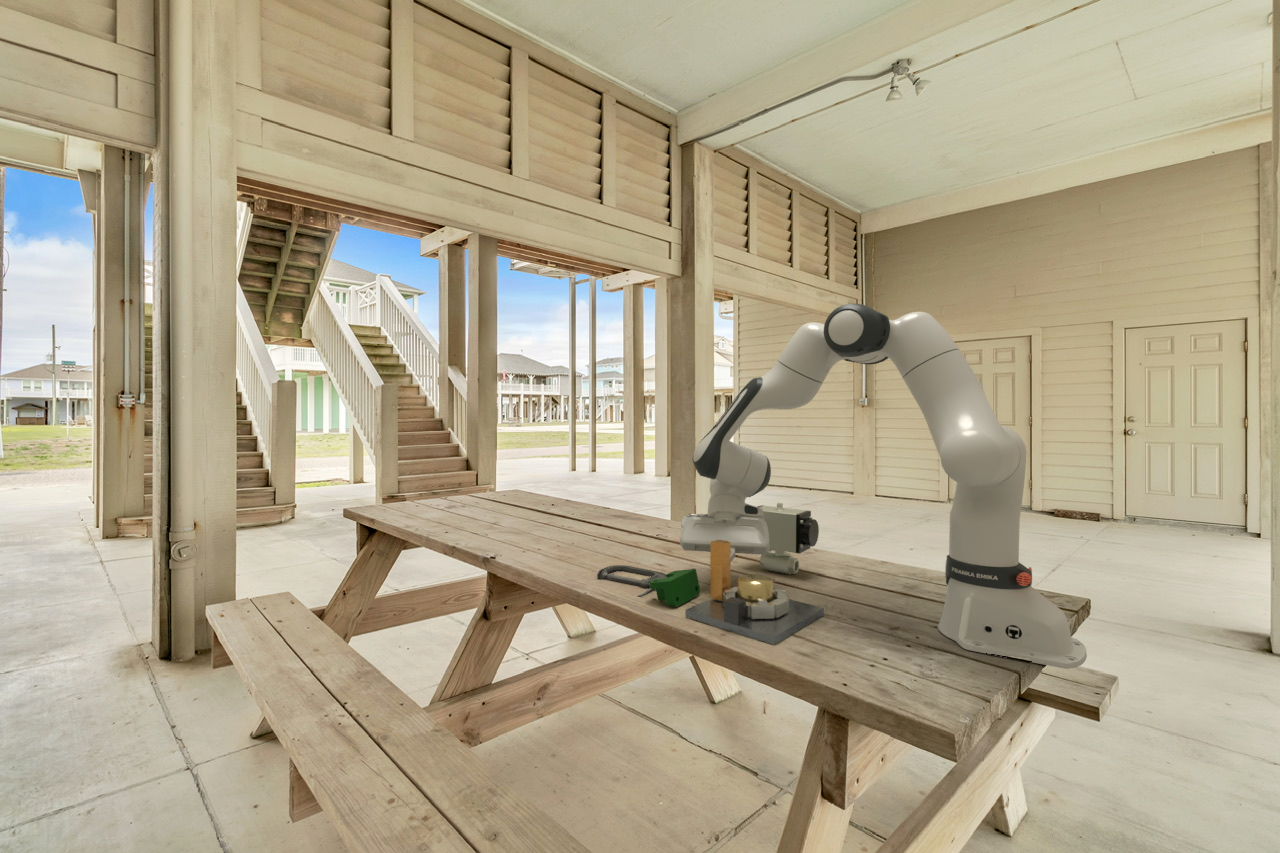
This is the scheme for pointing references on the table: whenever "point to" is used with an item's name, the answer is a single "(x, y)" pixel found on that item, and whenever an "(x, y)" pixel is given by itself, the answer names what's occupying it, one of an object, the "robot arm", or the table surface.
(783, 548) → the ball valve
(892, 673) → the table surface
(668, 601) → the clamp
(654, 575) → the c clamp
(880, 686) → the table surface
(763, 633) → the base plate
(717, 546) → the ring of rectangular blocks
